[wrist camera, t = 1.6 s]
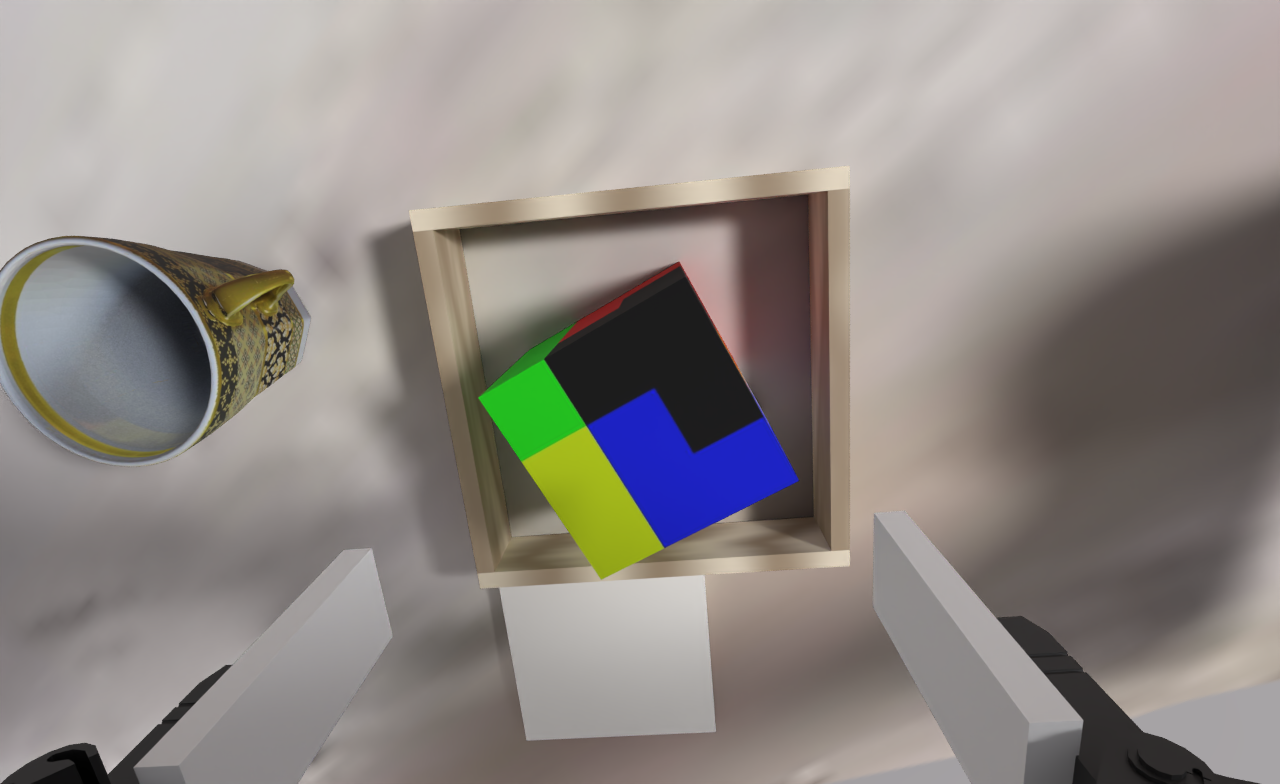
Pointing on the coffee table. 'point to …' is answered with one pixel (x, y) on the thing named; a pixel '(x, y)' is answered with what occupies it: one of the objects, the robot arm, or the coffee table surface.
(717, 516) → the puzzle toy
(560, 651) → the pad
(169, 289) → the ceramic cup
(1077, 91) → the coffee table surface
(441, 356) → the bin
